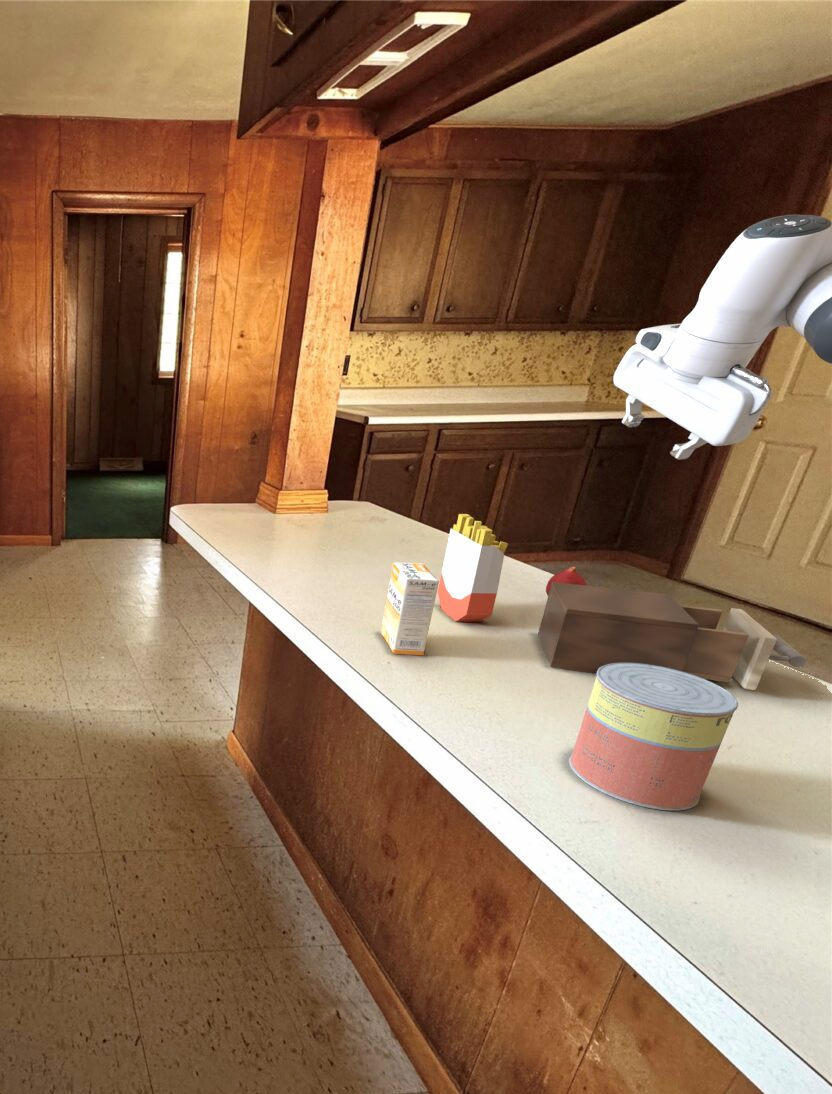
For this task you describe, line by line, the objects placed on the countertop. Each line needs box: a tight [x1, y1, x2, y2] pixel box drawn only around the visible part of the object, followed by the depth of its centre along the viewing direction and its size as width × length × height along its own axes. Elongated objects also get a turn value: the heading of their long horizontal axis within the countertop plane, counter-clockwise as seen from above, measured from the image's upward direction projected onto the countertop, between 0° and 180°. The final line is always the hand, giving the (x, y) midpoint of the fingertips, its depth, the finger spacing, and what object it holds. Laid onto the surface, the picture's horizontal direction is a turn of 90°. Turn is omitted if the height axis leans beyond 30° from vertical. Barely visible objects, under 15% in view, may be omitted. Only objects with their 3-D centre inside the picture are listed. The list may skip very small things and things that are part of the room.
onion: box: [545, 566, 588, 597], centre depth 120 cm, size 6×6×8 cm
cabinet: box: [537, 582, 699, 675], centre depth 101 cm, size 15×13×10 cm
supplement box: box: [380, 561, 440, 656], centre depth 107 cm, size 8×5×13 cm, turn 167°
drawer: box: [679, 604, 807, 691], centre depth 96 cm, size 18×11×8 cm, turn 62°
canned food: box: [568, 663, 739, 812], centre depth 73 cm, size 11×11×12 cm
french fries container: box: [437, 513, 509, 623], centre depth 116 cm, size 5×11×18 cm, turn 174°
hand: (653, 440), depth 100 cm, fingers open, 8 cm apart
